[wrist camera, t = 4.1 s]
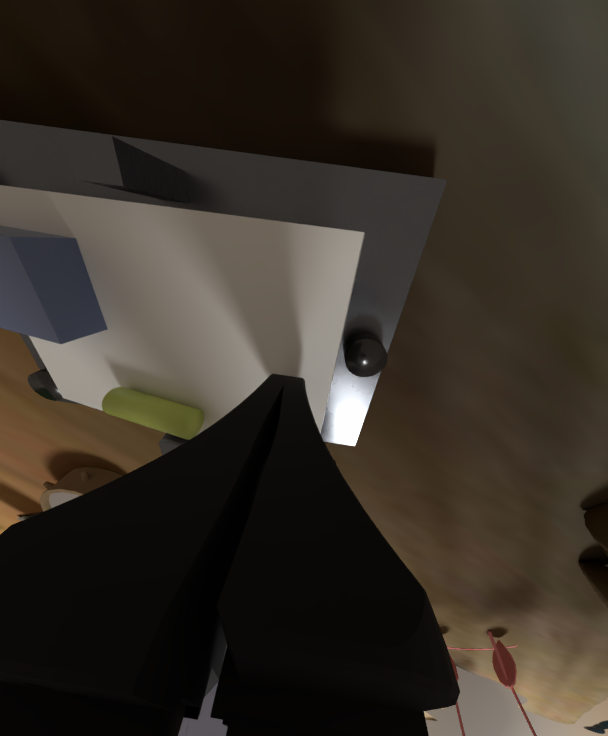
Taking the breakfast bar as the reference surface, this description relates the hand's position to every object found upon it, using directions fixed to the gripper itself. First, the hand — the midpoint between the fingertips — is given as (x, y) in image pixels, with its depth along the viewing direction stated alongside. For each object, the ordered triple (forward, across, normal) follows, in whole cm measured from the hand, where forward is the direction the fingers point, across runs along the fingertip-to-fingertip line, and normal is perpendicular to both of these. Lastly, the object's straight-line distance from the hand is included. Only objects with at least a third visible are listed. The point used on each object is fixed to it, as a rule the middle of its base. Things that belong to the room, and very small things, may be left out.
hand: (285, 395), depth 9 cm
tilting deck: (+3, +7, 0) cm, 7 cm away
